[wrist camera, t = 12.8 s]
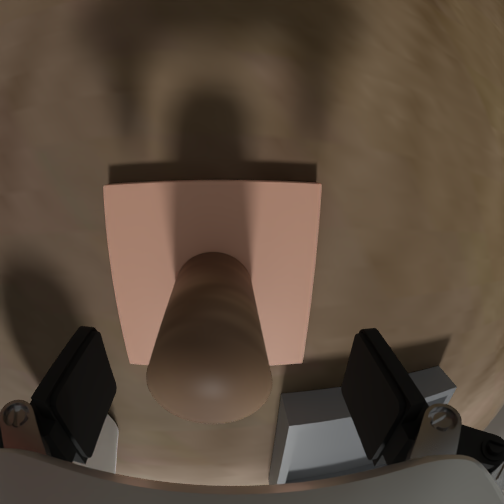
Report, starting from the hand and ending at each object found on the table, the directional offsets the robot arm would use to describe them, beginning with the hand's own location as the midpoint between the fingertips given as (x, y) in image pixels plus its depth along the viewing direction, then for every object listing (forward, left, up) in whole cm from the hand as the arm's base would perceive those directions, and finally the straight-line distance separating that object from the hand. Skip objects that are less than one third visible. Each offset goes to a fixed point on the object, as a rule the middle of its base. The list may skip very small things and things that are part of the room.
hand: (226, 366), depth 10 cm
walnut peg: (+1, 0, -7) cm, 7 cm away
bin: (-12, +18, -8) cm, 24 cm away
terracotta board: (+1, 0, -8) cm, 8 cm away
